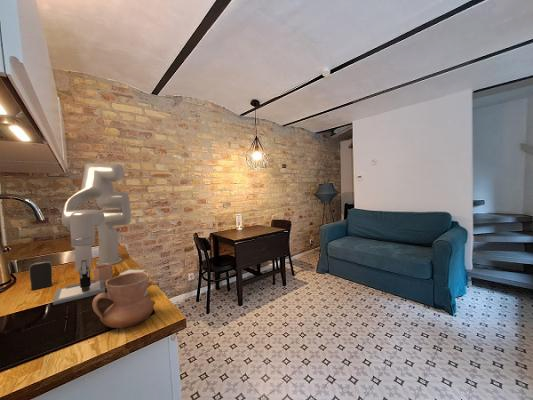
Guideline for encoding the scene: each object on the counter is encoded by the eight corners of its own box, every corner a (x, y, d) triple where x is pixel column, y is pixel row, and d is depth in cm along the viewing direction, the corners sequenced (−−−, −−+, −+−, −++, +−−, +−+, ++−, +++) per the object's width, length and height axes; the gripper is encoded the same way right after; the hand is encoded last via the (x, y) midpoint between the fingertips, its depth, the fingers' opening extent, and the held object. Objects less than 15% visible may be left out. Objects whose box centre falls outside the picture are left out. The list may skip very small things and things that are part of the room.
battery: (53, 283, 104) (51, 259, 104) (52, 286, 101) (51, 261, 101) (31, 288, 100) (29, 263, 99) (30, 291, 97) (28, 265, 96)
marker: (80, 289, 93) (79, 266, 93) (91, 287, 95) (89, 264, 95) (80, 292, 90) (78, 268, 90) (91, 290, 93) (89, 266, 92)
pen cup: (94, 278, 110) (93, 266, 110) (111, 274, 114) (110, 263, 114) (94, 282, 104) (93, 270, 104) (112, 279, 109) (111, 266, 108)
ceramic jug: (153, 303, 85) (152, 266, 84) (162, 320, 73) (160, 278, 73) (94, 320, 74) (92, 278, 74) (93, 344, 63) (90, 294, 62)
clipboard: (57, 291, 96) (57, 287, 96) (103, 281, 105) (103, 278, 105) (53, 305, 85) (52, 300, 84) (105, 292, 94) (104, 288, 94)
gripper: (72, 239, 96) (75, 281, 97) (69, 247, 83) (72, 295, 84) (94, 237, 101) (96, 276, 102) (95, 243, 88) (97, 289, 89)
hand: (85, 284), depth 93 cm, fingers closed on marker, 3 cm apart
